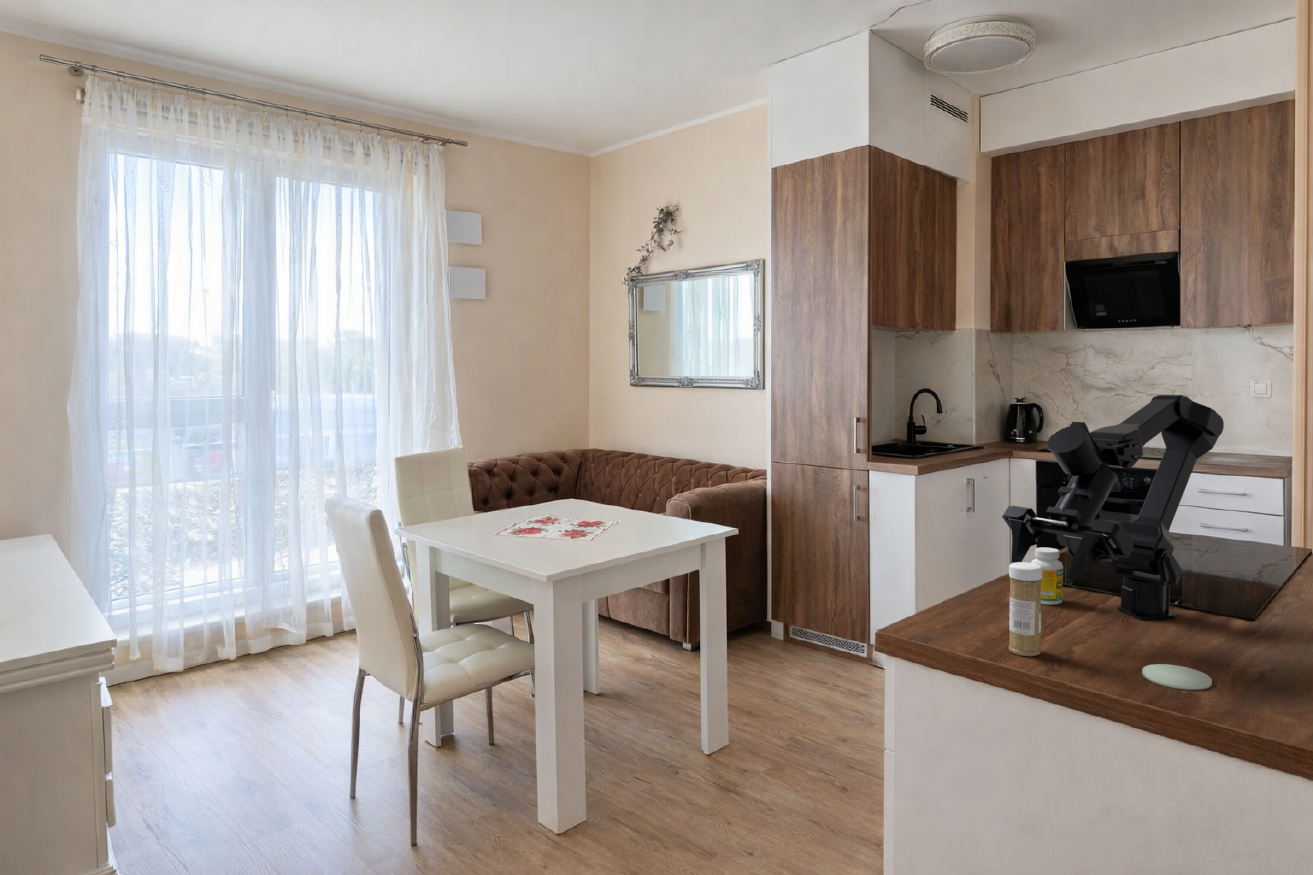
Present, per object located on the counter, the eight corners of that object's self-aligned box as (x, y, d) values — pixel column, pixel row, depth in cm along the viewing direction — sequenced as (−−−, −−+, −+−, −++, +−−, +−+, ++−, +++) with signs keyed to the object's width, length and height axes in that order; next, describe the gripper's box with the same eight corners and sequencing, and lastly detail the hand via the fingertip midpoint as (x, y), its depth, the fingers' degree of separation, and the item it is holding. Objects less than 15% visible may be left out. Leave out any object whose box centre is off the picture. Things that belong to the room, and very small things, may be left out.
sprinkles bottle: (1047, 652, 121) (1048, 565, 120) (1029, 659, 119) (1031, 570, 118) (1019, 644, 125) (1020, 559, 124) (1001, 650, 123) (1002, 564, 121)
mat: (1181, 665, 115) (1182, 662, 115) (1226, 687, 107) (1226, 684, 107) (1129, 669, 114) (1129, 665, 114) (1170, 691, 106) (1170, 687, 106)
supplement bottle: (1032, 595, 151) (1033, 545, 150) (1064, 599, 148) (1065, 548, 147) (1027, 602, 147) (1028, 551, 146) (1060, 606, 144) (1061, 554, 143)
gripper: (1165, 536, 123) (1121, 619, 118) (1051, 517, 139) (1009, 590, 134) (1138, 489, 118) (1091, 573, 113) (1023, 476, 134) (978, 549, 129)
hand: (1040, 573), depth 123 cm, fingers open, 9 cm apart
